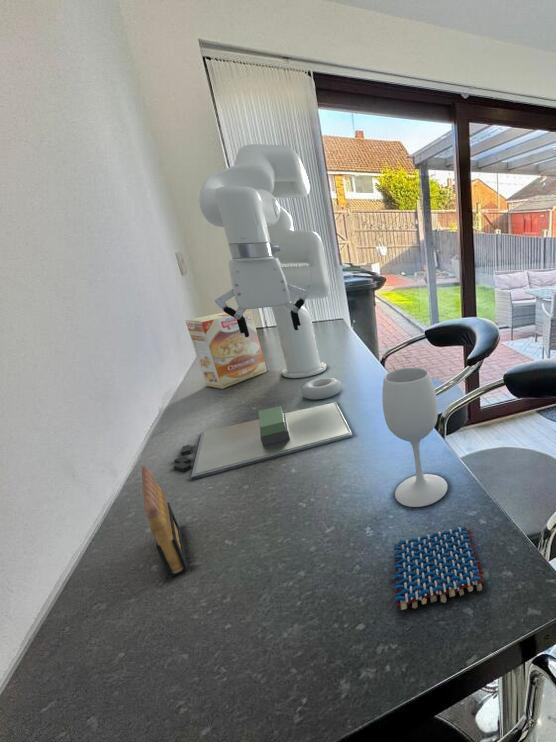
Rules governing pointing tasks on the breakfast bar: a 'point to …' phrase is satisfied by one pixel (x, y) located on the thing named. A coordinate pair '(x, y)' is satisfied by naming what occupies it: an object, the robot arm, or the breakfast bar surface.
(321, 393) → the donut
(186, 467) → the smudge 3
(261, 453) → the board
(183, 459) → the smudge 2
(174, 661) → the breakfast bar surface
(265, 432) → the eraser
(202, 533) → the breakfast bar surface
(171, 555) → the ammunition clip
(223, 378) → the coffeecake box
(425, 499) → the wineglass
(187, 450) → the dark grey small bar
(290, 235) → the robot arm
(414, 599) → the woven mat
